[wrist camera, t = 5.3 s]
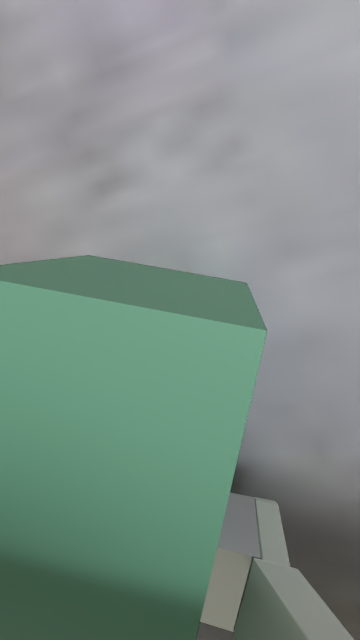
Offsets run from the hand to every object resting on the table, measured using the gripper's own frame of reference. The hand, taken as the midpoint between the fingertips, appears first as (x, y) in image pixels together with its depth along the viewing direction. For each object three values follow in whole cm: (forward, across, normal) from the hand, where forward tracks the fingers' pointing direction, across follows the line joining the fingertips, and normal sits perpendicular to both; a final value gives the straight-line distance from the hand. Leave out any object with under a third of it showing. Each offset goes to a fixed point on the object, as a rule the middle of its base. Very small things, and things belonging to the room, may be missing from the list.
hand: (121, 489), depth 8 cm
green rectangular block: (+2, 0, 0) cm, 2 cm away
